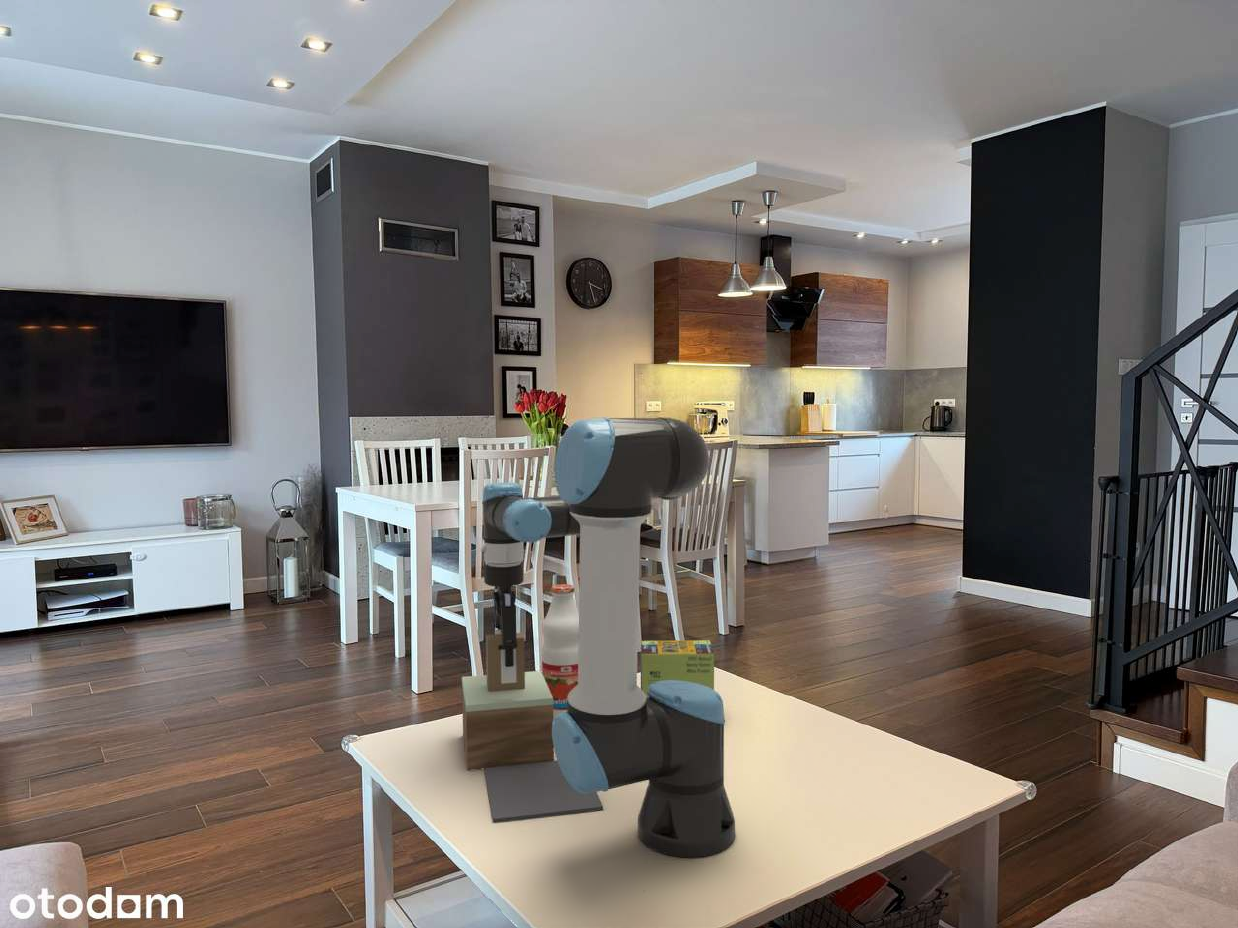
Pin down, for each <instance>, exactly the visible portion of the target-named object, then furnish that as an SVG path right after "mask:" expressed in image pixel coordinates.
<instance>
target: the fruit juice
mask: <svg viewBox="0 0 1238 928" xmlns="http://www.w3.org/2000/svg"><path fill="white" fill-rule="evenodd" d="M550 591H551V595H552V599H551V602H550V605H549V609H548V612H547V613H546V616H545V617H544V618H543V622H542V624H541V627H542V628H541V630H542V631H541V632H542V636H543V638H544V639H543V640H544V641H543V645H542V648H541V649H542V650H541V672H542V675H543V677H544V679H545V681H546V683H547V686H548V688H549V690H550V692H551V694H552V697H553V721H554V718H555V716H556V715H558V714H560V713H561V712H565V713H566V712H567V697H568V694H569V692H570V691H571V690H572V689H573V688H574V687H576V686H577V685H578V650H579V608H578V607H577V604H576V601H575V599H574V594H575V586H574V585H572V584H566V583H565V584H564V583H562V584H554V585H552V586H551V590H550Z"/></svg>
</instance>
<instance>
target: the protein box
mask: <svg viewBox="0 0 1238 928" xmlns="http://www.w3.org/2000/svg"><path fill="white" fill-rule="evenodd" d="M662 680H677V681H686V682H692V683H696V684H700V685H704V686H706V687H709V688H711V689H713V690H715V652H714V649H713V646H712V643H711V640H708V639H707V640H706V639H702V640H700V639H699V640H688V639H687V640H685V639H684V640H681V639H679V640H672V639H671V640H641V641H640V689H641V690H642V691H643V692H644V693H645V694H646V697H648V694H647V691H648V688H649V686H650V685H651V684H652V683H654V682H656V681H662Z"/></svg>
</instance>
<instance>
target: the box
mask: <svg viewBox="0 0 1238 928" xmlns="http://www.w3.org/2000/svg"><path fill="white" fill-rule="evenodd" d="M461 694H462V695H461V696H462V697H461V698H462V707H461V708H462V735H463V736H462V738H463V747H464V755H465V761H466V762H465V763H466V771H467V770H468V771H472V770H471V769H478V770H482V769H481V768H489V767H499V766H508V765H518V764H528V763H538V762H548V761H555V750H554V746H553V739H552V723H553V721H554V720H553V704H552V705H540V706H528V707H517V708H505V709H493V710H482V711H470V712H466V706H465V700H464V693H463V686H462V685H461Z"/></svg>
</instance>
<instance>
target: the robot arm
mask: <svg viewBox="0 0 1238 928" xmlns="http://www.w3.org/2000/svg"><path fill="white" fill-rule="evenodd" d="M709 455H710V454H709V449H708V446H707V444H706V442H705V441H704V438H703V437H702V436H701V434H700V433H699V432H698V431H697V429H695V428H694V427H693V426H691V425H690V424H688V423H686V422H685V421H682V420H680V419H676V418H672V417H659V416H658V417H598V418H588V419H579V420H577V421H575V422H573V423H572V424H570V426H569V427H567V428H566V430H565V432H564V434H563V435H562V436H561V439H560V441H559V443H558V447H557V449H556V455H555V461H554V473H553V475H554V482H555V483H556V488H555V489H556V491H557V494H558V495H557V496H537V497H524V494H523V493H524V492H523V487H522V485H521V484H520V483H518V482H491V483H487V484H486V485H485V486H484V487H483V489H482V490H483V491H482V501H481V505H482V516H483V517H482V519H483V520H482V522H483V523H482V524H483V545H484V546H481V547H480V552H482V553H483V552H484V554H483V555H484V556H483V558H484V562H485V564H484V566H483V574H484V575H483V577H484V578H483V580H484V584H486V585H487V586H490V587H494V592H493V593H492V597H493V606H494V610H493V613H494V615H493V616H494V618H493V623H494V634H501V639H502V645H498V650H501V682H502V684H504V683H516V648H517V639H516V633H517V628H516V627H517V625H516V624H517V623H516V599H517V597H516V593H515V591H514V590H513V589H512V587H513V586H519V585H521V584H523V582H524V578H525V577H524V573H525V572H524V564H523V563H522V562H523V561H524V556H525V555H524V551H525V550H524V543H536V542H539V541H541V540H542V539H548V538H558V537H559V538H560V537H561V538H562V537H566V536H567V537H568V536H579V583H578V585H579V586H578V588H579V593H578V594H579V595H578V600H579V601H578V612H579V650H578V685H577V686H576V687H574V688H573V689H572V690H571V691H570V692H569V694H568V697H567V712H566V713H565V712H561V713H560V714H558V715H556V716H555V718H554V720H553V723H552V739H553V746H554V755H555V757H556V761H558V763H559V766H560V769H561V771H562V773H563V775H564V777H565V779H566V780H567V782H568V783H569V785H570V786H571V787H572V788H573V789H574V790H576V791H577V792H579V793H583V794H587V793H593V792H597V793H598V792H603V793H605V792H609V790H612V789H616V788H620V787H624V786H629V785H632V784H633V785H634V784H637V783H642V782H645V781H648V785H647V787H646V791H645V793H644V797H643V800H642V803H641V807H640V809H639V812H638V816H637V834H638V837H639V839H640V841H641V843H643V844H644V845H645V846H647V847H648V848H649V849H651V850H653V851H656V852H659V853H660V854H664V855H668V856H672V857H680V858H699V857H706V856H711V855H714V854H718V853H720V852H722V851H724V850H726V849H727V848H729V847H730V846H731V845H732V844H733V842H734V840H735V838H736V819H735V818H736V817H735V816H734V812H733V809H732V806H731V803H730V800H729V796H728V794H727V790H726V788H725V785H724V784H725V780H724V779H725V776H724V775H725V774H724V772H725V768H724V767H725V723H726V719H725V708H724V701H723V699H722V696H721V695H720V694H719V692H717V691H716V690H715V689H714V690H713V689H711V688H709V687H706V686H704V685H700V684H696V683H692V682H686V681H677V680H662V681H656V682H654V683H652V684H651V685H650V686H649V688H648V691H647V694H648V697H646V694H645V693H644V692H643V691H642V690H641V687H639V686H638V685H637V684H638V682H637V681H638V650H639V649H638V643H639V642H638V641H639V640H638V639H639V638H638V637H639V636H638V635H639V594H640V592H639V591H640V559H641V558H640V551H641V550H640V549H641V525H642V524H643V523H644V522H645V521H646V520H647V519H648V518H649V517H651V515H652V504H654V503H656V502H658V501H660V500H664V501H672V500H677V499H679V498H681V497H683V496H685V495H688V494H689V493H691V492H693V491H694V490H696V489H697V488H699V487H700V485H701V484H702V483H703V481H704V480H705V478H706V476H707V474H708V470H709V465H710V457H709ZM506 641H512V642H506Z"/></svg>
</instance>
